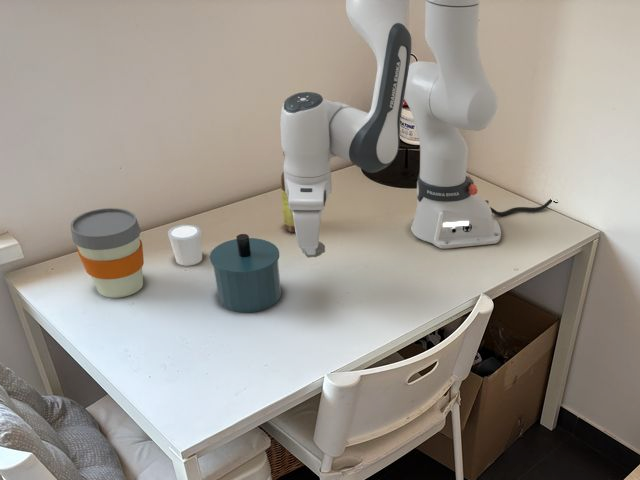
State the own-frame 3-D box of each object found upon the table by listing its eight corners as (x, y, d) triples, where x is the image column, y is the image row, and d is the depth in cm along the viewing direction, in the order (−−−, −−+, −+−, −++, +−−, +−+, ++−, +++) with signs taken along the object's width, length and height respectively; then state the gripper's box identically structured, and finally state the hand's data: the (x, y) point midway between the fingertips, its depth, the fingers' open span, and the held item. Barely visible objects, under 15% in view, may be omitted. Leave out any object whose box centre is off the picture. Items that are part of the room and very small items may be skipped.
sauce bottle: (305, 235, 171) (300, 157, 159) (280, 232, 171) (273, 153, 159) (313, 223, 176) (309, 146, 164) (289, 220, 176) (283, 143, 164)
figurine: (329, 253, 146) (328, 227, 142) (318, 263, 142) (316, 236, 139) (307, 247, 147) (305, 221, 143) (295, 256, 144) (293, 230, 140)
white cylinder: (211, 257, 160) (207, 230, 156) (188, 270, 155) (183, 242, 151) (189, 248, 163) (184, 221, 158) (166, 260, 158) (160, 232, 154)
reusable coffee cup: (165, 283, 151) (151, 219, 142) (114, 309, 142) (96, 243, 133) (126, 264, 156) (110, 201, 146) (74, 288, 147) (54, 224, 138)
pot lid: (282, 242, 150) (280, 220, 147) (276, 276, 139) (274, 254, 136) (215, 242, 148) (212, 220, 145) (205, 276, 137) (201, 254, 134)
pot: (283, 279, 155) (279, 241, 149) (278, 312, 145) (274, 272, 139) (223, 279, 153) (217, 241, 147) (214, 312, 143) (208, 272, 138)
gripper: (294, 160, 143) (299, 221, 151) (287, 206, 127) (292, 272, 135) (326, 160, 144) (329, 222, 152) (323, 206, 128) (326, 272, 136)
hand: (312, 246), depth 143 cm, fingers closed on figurine, 4 cm apart
